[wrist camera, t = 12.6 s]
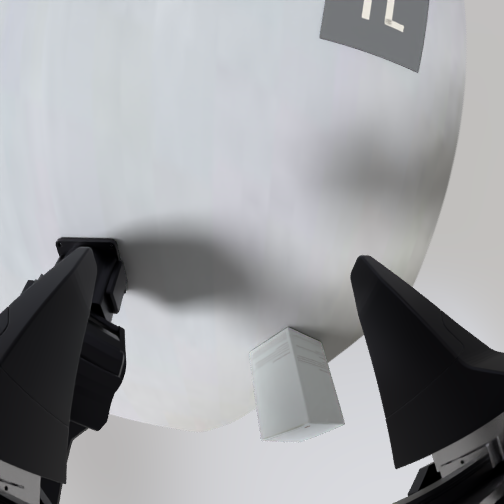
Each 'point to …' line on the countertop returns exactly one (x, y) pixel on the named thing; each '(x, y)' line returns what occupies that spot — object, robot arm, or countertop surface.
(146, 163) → the countertop surface
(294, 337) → the supplement box
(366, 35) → the gray mat
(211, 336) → the countertop surface
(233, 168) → the countertop surface
